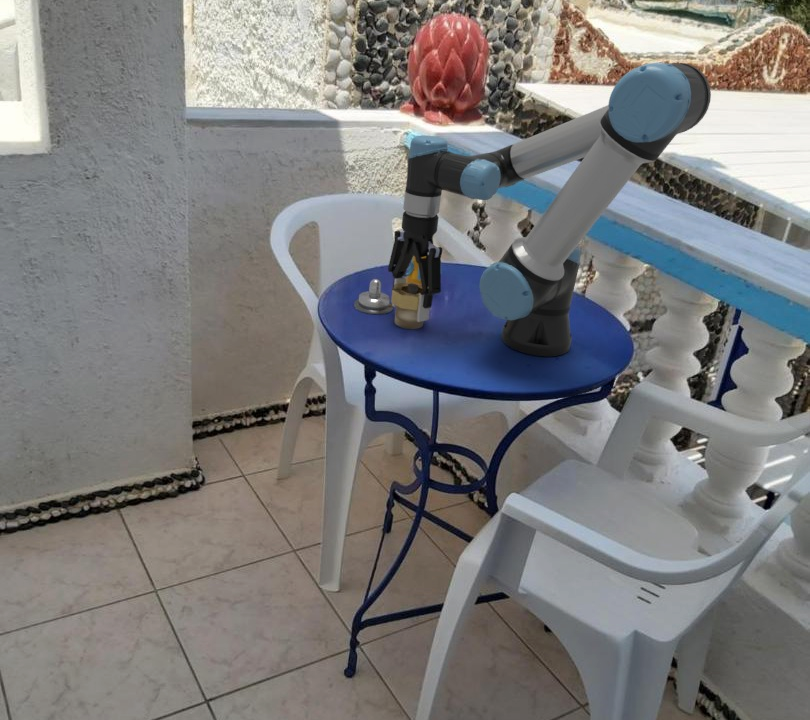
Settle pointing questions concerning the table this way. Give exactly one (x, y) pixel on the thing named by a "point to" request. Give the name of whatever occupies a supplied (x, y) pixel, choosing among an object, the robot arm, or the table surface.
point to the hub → (373, 300)
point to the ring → (405, 296)
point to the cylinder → (414, 272)
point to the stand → (408, 313)
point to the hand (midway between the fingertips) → (409, 312)
